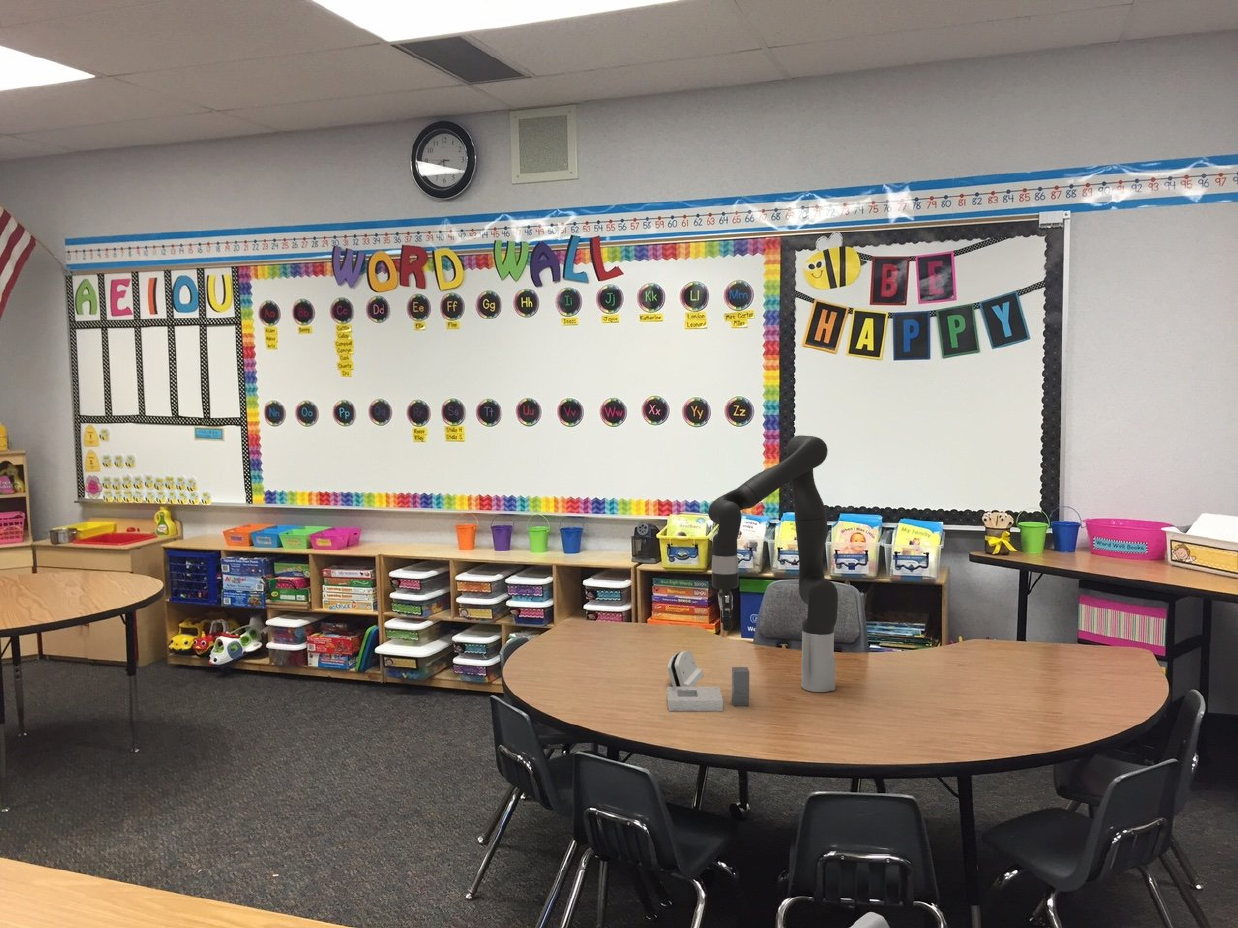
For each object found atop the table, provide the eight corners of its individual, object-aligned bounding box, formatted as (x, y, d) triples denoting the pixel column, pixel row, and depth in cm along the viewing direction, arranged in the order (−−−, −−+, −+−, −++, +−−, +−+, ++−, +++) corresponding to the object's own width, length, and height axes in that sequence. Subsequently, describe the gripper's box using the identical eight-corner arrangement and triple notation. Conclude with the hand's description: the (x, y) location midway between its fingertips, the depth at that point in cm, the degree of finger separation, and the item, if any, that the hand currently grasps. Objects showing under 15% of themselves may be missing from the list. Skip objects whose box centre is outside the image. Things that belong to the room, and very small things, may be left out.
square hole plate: (718, 696, 273) (718, 686, 273) (723, 710, 261) (723, 700, 261) (667, 696, 273) (667, 686, 273) (668, 710, 261) (668, 700, 261)
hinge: (689, 691, 278) (678, 659, 278) (675, 695, 279) (664, 662, 280) (704, 674, 293) (693, 644, 294) (690, 678, 295) (679, 647, 295)
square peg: (747, 701, 269) (747, 666, 268) (749, 706, 265) (749, 671, 264) (731, 701, 269) (731, 666, 268) (733, 706, 265) (733, 671, 264)
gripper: (740, 575, 260) (741, 633, 261) (736, 565, 274) (736, 619, 275) (713, 575, 260) (714, 633, 261) (710, 565, 274) (710, 620, 275)
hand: (725, 626), depth 268 cm, fingers open, 8 cm apart
